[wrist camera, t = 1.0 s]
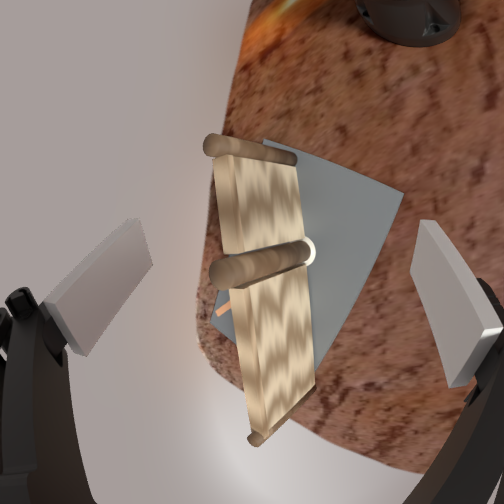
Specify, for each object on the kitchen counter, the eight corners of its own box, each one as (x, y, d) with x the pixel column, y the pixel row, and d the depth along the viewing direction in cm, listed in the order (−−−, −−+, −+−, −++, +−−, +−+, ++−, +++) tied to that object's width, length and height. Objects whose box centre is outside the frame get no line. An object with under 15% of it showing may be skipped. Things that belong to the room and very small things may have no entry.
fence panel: (295, 264, 41) (221, 290, 30) (307, 264, 40) (236, 291, 29) (305, 390, 43) (248, 444, 32) (316, 392, 42) (260, 449, 30)
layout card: (265, 139, 42) (263, 138, 42) (404, 193, 31) (403, 193, 31) (211, 322, 56) (209, 322, 55) (301, 392, 45) (300, 394, 44)
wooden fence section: (280, 154, 41) (192, 137, 28) (297, 149, 39) (213, 127, 26) (293, 261, 42) (211, 289, 29) (312, 261, 40) (233, 291, 27)
